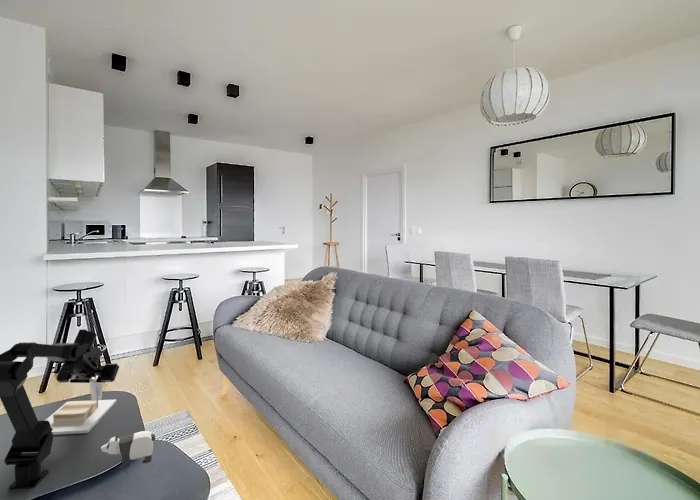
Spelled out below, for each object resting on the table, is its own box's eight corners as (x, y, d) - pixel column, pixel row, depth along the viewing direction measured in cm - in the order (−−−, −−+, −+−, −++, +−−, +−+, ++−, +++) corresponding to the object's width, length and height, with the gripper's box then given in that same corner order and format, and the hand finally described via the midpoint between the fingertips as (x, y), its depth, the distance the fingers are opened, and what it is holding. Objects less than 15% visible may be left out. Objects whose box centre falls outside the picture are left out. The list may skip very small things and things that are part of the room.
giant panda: (155, 451, 119) (155, 423, 118) (155, 462, 114) (155, 432, 113) (102, 463, 113) (101, 434, 112) (99, 474, 108) (98, 444, 107)
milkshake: (87, 404, 134) (87, 378, 133) (90, 398, 138) (90, 372, 138) (102, 402, 136) (102, 376, 135) (104, 395, 141) (104, 370, 140)
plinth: (84, 421, 133) (84, 413, 133) (53, 423, 131) (53, 415, 131) (98, 407, 143) (98, 400, 142) (69, 408, 141) (69, 401, 141)
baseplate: (87, 432, 128) (87, 430, 128) (29, 436, 125) (29, 433, 124) (116, 401, 149) (116, 399, 149) (67, 403, 146) (67, 401, 146)
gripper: (116, 343, 133) (131, 361, 144) (61, 343, 130) (80, 361, 142) (104, 372, 125) (121, 389, 137) (45, 373, 123) (67, 390, 135)
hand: (97, 381), depth 138 cm, fingers closed on milkshake, 4 cm apart
